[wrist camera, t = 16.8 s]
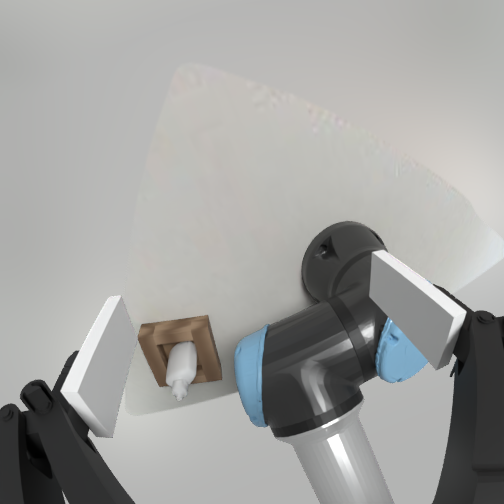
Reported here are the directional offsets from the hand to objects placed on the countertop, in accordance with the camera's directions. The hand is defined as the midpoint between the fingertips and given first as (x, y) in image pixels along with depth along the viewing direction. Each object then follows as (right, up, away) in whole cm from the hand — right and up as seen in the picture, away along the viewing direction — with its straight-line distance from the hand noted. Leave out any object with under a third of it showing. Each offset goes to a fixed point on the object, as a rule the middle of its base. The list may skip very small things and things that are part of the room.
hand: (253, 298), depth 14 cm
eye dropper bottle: (-12, -15, +34) cm, 39 cm away
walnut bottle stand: (-13, -15, +35) cm, 40 cm away
